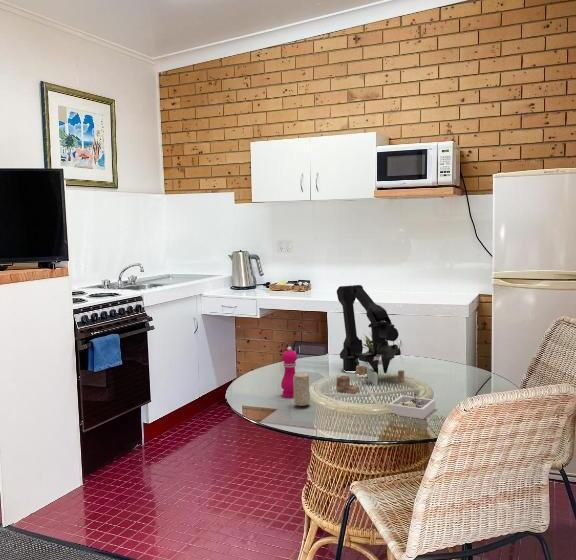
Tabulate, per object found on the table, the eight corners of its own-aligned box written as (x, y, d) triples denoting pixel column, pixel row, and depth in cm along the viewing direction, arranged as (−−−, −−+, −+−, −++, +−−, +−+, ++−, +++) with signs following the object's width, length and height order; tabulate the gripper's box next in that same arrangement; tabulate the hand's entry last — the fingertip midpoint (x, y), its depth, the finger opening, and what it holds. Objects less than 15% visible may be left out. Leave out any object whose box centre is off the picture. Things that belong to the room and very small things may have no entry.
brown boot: (336, 392, 251) (336, 378, 251) (342, 389, 255) (342, 375, 254) (354, 395, 247) (353, 380, 246) (359, 392, 250) (359, 378, 250)
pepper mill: (287, 399, 243) (286, 349, 241) (278, 395, 249) (276, 346, 247) (302, 396, 246) (301, 347, 244) (293, 392, 252) (292, 344, 251)
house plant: (394, 362, 300) (394, 329, 298) (386, 369, 287) (386, 334, 286) (365, 360, 306) (365, 328, 304) (357, 366, 293) (357, 333, 292)
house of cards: (439, 410, 226) (439, 390, 225) (425, 416, 220) (425, 395, 219) (418, 405, 232) (418, 385, 231) (404, 410, 226) (404, 390, 226)
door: (366, 378, 270) (366, 366, 270) (368, 378, 270) (368, 366, 270) (375, 386, 256) (375, 373, 256) (377, 386, 257) (377, 373, 256)
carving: (308, 401, 239) (307, 371, 238) (311, 407, 231) (311, 376, 230) (292, 402, 238) (291, 372, 237) (295, 408, 230) (294, 377, 229)
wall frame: (356, 378, 272) (356, 366, 271) (358, 377, 273) (358, 365, 273) (402, 384, 260) (402, 371, 260) (404, 383, 262) (404, 370, 262)
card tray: (388, 413, 222) (388, 404, 221) (401, 404, 233) (401, 395, 232) (423, 419, 215) (423, 409, 215) (435, 409, 226) (435, 399, 226)
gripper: (372, 344, 251) (375, 381, 252) (408, 337, 260) (410, 373, 261) (356, 341, 261) (359, 377, 262) (391, 334, 270) (393, 369, 271)
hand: (381, 374), depth 264 cm, fingers open, 4 cm apart
